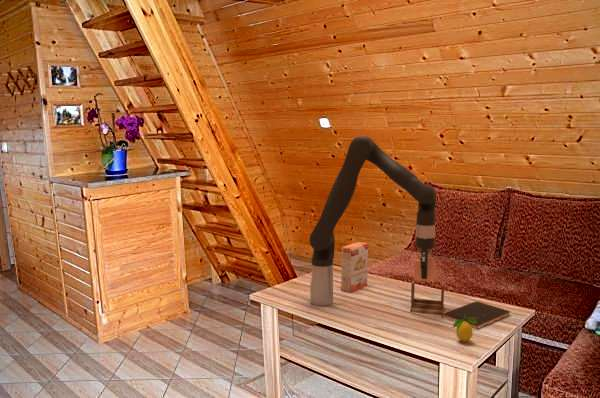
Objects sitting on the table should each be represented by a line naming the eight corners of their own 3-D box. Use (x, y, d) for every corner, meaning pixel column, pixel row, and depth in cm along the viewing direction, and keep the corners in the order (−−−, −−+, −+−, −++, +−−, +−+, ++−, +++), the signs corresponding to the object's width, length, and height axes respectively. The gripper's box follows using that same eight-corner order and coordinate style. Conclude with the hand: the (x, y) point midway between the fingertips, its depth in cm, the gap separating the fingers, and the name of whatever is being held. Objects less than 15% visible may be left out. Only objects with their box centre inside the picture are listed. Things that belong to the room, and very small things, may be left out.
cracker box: (351, 293, 232) (351, 248, 229) (340, 290, 236) (340, 246, 233) (368, 285, 243) (368, 242, 240) (357, 283, 247) (358, 241, 244)
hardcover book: (510, 316, 203) (510, 311, 203) (476, 331, 190) (476, 325, 189) (475, 305, 216) (475, 300, 216) (441, 318, 202) (441, 313, 202)
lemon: (476, 341, 180) (477, 314, 178) (470, 346, 175) (471, 319, 174) (458, 336, 184) (458, 310, 183) (451, 342, 179) (452, 314, 178)
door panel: (414, 280, 204) (414, 261, 203) (414, 278, 207) (415, 259, 206) (434, 281, 202) (435, 262, 200) (435, 279, 204) (435, 260, 203)
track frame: (410, 312, 208) (410, 286, 207) (412, 302, 220) (412, 277, 218) (443, 315, 205) (443, 288, 203) (443, 304, 216) (444, 279, 214)
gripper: (417, 231, 209) (416, 271, 212) (413, 238, 196) (413, 281, 199) (436, 232, 207) (435, 273, 210) (434, 239, 194) (432, 283, 196)
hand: (424, 277), depth 204 cm, fingers closed on door panel, 3 cm apart
